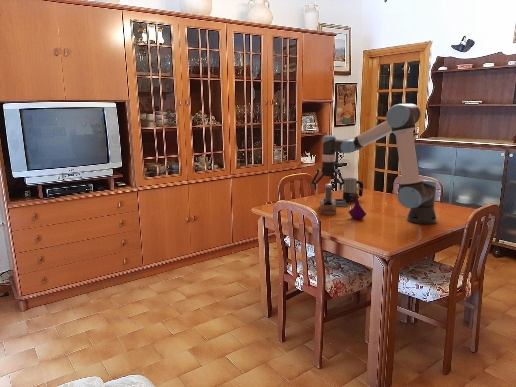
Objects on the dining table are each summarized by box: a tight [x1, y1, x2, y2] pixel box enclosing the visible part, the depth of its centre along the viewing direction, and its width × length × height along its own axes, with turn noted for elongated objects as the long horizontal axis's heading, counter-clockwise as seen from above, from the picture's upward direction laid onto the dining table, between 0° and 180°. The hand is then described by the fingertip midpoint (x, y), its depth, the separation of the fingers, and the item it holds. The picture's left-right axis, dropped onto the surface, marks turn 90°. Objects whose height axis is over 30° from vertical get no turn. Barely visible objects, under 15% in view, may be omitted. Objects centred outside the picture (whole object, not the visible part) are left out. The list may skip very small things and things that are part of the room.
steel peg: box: [324, 183, 332, 188], centre depth 249 cm, size 4×4×14 cm
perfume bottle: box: [348, 187, 367, 221], centre depth 227 cm, size 8×8×18 cm
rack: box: [319, 197, 337, 216], centre depth 246 cm, size 18×9×6 cm, turn 172°
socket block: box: [334, 198, 349, 208], centre depth 260 cm, size 10×10×3 cm
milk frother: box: [342, 177, 364, 203], centre depth 273 cm, size 14×16×15 cm
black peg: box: [324, 186, 333, 205], centre depth 241 cm, size 4×4×14 cm
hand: (327, 195), depth 249 cm, fingers open, 13 cm apart
